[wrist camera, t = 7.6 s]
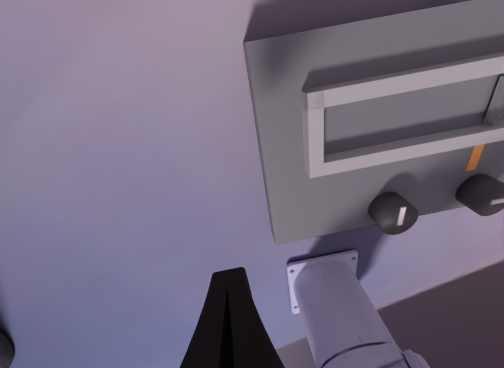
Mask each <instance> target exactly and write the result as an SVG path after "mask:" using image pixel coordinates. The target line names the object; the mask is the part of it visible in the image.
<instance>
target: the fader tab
mask: <svg viewBox="0 0 504 368" xmlns="http://www.w3.org/2000/svg"><path fill="white" fill-rule="evenodd" d="M484 121H487V122H491V123H494V124H498V125H502V126H504V75H503V76H500V79H499V81H498V84H497V87H496V89H495V92H494V95H493V98H492V100H491V103H490V106H489V108H488V111H487V114H486V117H485V119H484Z"/></svg>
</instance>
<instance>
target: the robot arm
mask: <svg viewBox="0 0 504 368" xmlns="http://www.w3.org/2000/svg"><path fill="white" fill-rule="evenodd" d="M357 261H358V252H357V251H356V250H350V251H345V252H340V253H335V254H330V255H326V256H321V257H316V258H311V259H306V260H301V261H296V262H291V263H288V264H287V266H286V267H287V276H288V284H289V292H290V300H291V309H292V313H294V314H297V313H300V314H301V317H302V321H303V324H304V327H305V331H306V334H307V337H308V341H309V344H310V347H311V351H312V354H313V357H314V360H315V364H316V367H317V368H430V367H429V366H428V364H427V363H426V361H425V360H424V358H423V357H422V356H420V355H418V354H416V353H413V352H412V351H411V350H407V351H404V353H403V352H402V351H401V350H400V349H399V347H398V346H397V345H396V343H395V341H394V340H393V338H392V336H391V335H390V333H389V332H388V330H387V328H386V326H385V325H384V323H383V321H382V320H381V318H380V316H379V314H378V313H377V311H376V309H375V308H374V306H373V304H372V303H371V301H370V299H369V298H368V296H367V294H366V293H365V291H364V289H363V288H362V286H361V284H360V282H359V281H358V279H357V277H356V269H357ZM180 368H285V367H284V365H283V363H282V362H281V360H280V358H279V356H278V354H277V352H276V350H275V348H274V346H273V344H272V342H271V340H270V338H269V336H268V334H267V332H266V330H265V328H264V326H263V323H262V321H261V319H260V316H259V314H258V312H257V309H256V307H255V304H254V302H253V299H252V294H251V290H250V286H249V282H248V279H247V275H246V271H245V268H243V267H239V268H234V269H229V270H224V271H219V272H214V273H213V274H212V278H211V282H210V286H209V290H208V293H207V297H206V300H205V303H204V306H203V309H202V312H201V315H200V318H199V321H198V324H197V326H196V329H195V332H194V334H193V337H192V339H191V342H190V344H189V347H188V349H187V352H186V354H185V357H184V359H183V361H182V364H181V366H180Z"/></svg>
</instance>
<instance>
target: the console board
mask: <svg viewBox="0 0 504 368" xmlns="http://www.w3.org/2000/svg"><path fill="white" fill-rule="evenodd" d="M243 46H244V52H245V59H246V65H247V72H248V79H249V85H250V92H251V98H252V105H253V111H254V118H255V125H256V131H257V138H258V144H259V151H260V157H261V164H262V171H263V177H264V184H265V190H266V197H267V204H268V210H269V217H270V223H271V230H272V234H273V237H274V241H275V244H276V245H277V244H282V243H287V242H292V241H297V240H302V239H307V238H312V237H317V236H321V235H326V234H331V233H336V232H341V231H346V230H351V229H356V228H361V227H366V226H371V225H376V224H377V225H378V226H379V227H380V228H381V229H382V230H383V231H384V232H385V233H386V234H389V235H395V234H400V233H402V232H404V231H406V230H408V229H409V228H410V227H412V226H413V225H414V223H415V222H416V220H417V218H418V216H420V215H425V214H430V213H435V212H440V211H445V210H450V209H455V208H460V207H465V206H466V207H468V208H470V209H471V210H473V211H474V212H476V213H477V214H479V215H481V216H489V215H492V214H495V213H497V212H499V211H501V210H502V209H503V208H504V126H502V125H498V124H494V123H491V122H487V121H484V119H485V117H486V114H487V111H488V108H489V106H490V103H491V100H492V98H493V95H494V92H495V89H496V87H497V84H498V81H499V79H500V76H503V75H504V0H470V1H464V2H459V3H453V4H448V5H443V6H437V7H432V8H426V9H421V10H416V11H410V12H405V13H399V14H394V15H389V16H383V17H378V18H372V19H367V20H361V21H356V22H351V23H345V24H340V25H334V26H329V27H324V28H318V29H313V30H307V31H302V32H297V33H291V34H286V35H280V36H275V37H270V38H264V39H259V40H253V41H248V42H244V43H243Z"/></svg>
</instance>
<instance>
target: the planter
mask: <svg viewBox="0 0 504 368" xmlns="http://www.w3.org/2000/svg"><path fill="white" fill-rule="evenodd" d="M12 360H13V349H12V346H11V344H10V342H9V340H8V339H7V338H6V336H5V335H4V334H3V333H2V332H1V331H0V368H9V367H10V365H11V363H12Z"/></svg>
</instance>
